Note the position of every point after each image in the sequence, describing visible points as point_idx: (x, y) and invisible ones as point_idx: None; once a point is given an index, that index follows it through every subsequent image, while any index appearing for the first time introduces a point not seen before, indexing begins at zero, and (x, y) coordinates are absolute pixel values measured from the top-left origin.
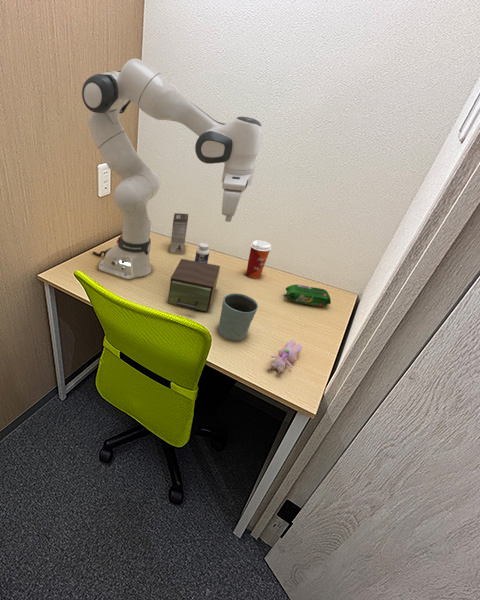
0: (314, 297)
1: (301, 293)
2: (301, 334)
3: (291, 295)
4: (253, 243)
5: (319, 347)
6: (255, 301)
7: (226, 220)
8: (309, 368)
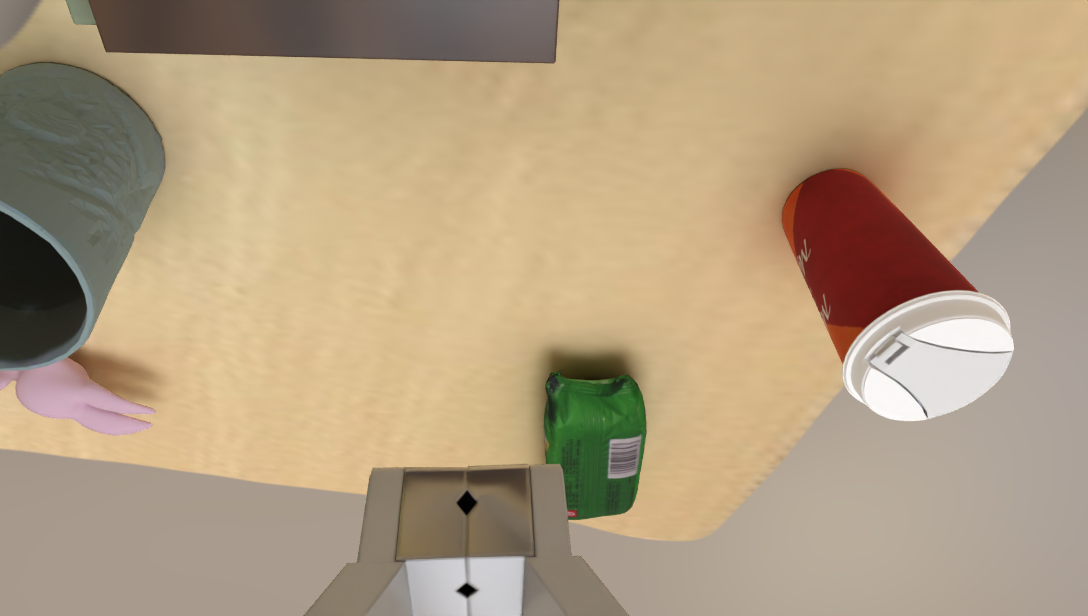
0: None
1: (552, 446)
2: (298, 405)
3: (547, 403)
4: (944, 324)
5: (247, 450)
6: (59, 357)
7: (374, 487)
8: (79, 423)
